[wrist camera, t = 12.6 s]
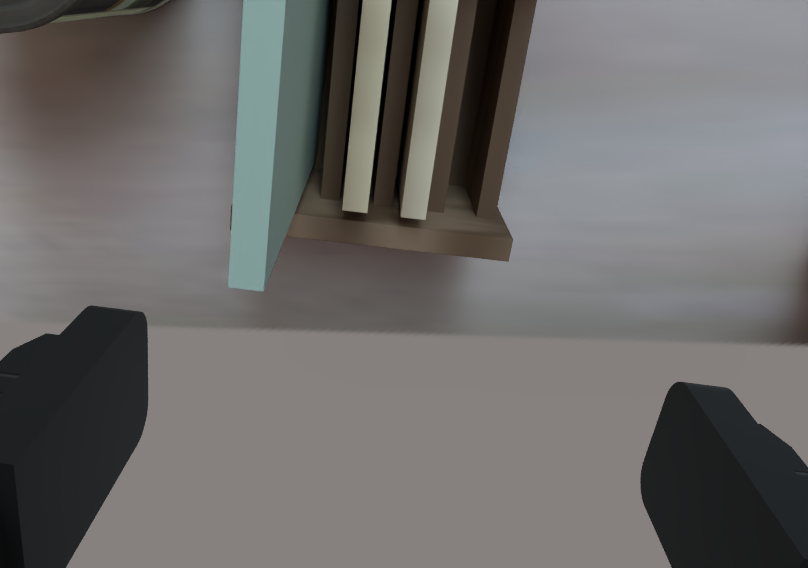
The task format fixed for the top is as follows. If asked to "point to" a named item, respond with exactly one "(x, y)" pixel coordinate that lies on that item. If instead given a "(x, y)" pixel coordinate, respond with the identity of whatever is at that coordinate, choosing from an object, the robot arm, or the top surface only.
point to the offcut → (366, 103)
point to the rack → (457, 139)
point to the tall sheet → (275, 127)
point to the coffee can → (65, 11)
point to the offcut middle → (424, 103)
